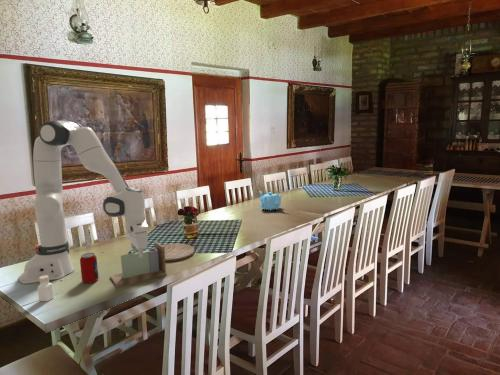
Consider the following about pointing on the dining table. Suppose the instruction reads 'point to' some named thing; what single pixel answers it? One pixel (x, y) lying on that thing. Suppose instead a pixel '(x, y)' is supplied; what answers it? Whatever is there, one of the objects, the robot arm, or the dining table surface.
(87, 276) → the beverage can
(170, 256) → the trivet
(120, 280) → the cabinet base
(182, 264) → the dining table surface
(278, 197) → the teapot
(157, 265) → the pale green grey block
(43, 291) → the pepper shaker
